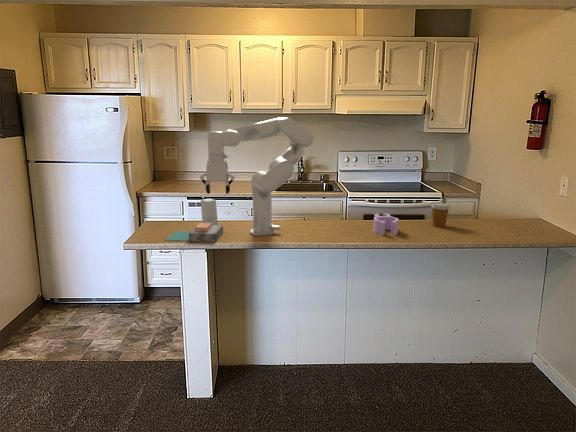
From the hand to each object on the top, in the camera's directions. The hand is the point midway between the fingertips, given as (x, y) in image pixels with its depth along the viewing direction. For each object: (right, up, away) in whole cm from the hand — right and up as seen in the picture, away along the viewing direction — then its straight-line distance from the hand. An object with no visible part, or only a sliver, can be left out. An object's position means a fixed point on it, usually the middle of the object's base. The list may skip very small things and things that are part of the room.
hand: (218, 193), depth 217 cm
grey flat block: (-6, -21, +5) cm, 23 cm away
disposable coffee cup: (+116, -16, +28) cm, 121 cm away
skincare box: (-8, -17, +25) cm, 31 cm away
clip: (+85, -19, +18) cm, 89 cm away
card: (-8, -17, +5) cm, 20 cm away
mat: (-19, -21, +6) cm, 29 cm away
